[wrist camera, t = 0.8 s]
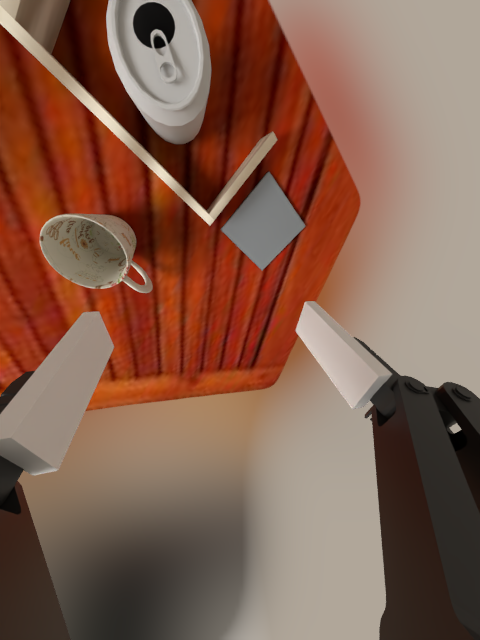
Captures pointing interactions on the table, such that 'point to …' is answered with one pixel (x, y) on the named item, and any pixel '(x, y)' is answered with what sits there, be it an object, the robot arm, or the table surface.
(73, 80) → the u-shaped shelf bracket
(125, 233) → the mug
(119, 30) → the can
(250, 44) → the table surface
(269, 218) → the mat
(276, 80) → the table surface
